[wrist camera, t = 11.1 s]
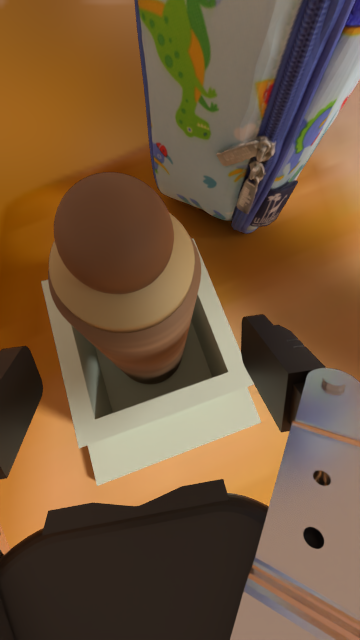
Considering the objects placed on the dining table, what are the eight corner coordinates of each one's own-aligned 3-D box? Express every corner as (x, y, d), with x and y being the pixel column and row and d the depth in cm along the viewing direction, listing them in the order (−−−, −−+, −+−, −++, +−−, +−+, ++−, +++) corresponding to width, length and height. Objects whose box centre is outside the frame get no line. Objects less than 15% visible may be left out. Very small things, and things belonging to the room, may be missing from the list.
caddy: (188, 250, 23) (194, 200, 18) (257, 421, 20) (293, 426, 14) (53, 289, 22) (14, 248, 16) (100, 482, 18) (69, 515, 13)
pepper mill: (170, 312, 21) (174, 95, 7) (191, 371, 20) (253, 260, 5) (110, 331, 20) (-30, 137, 6) (127, 393, 19) (5, 334, 5)
